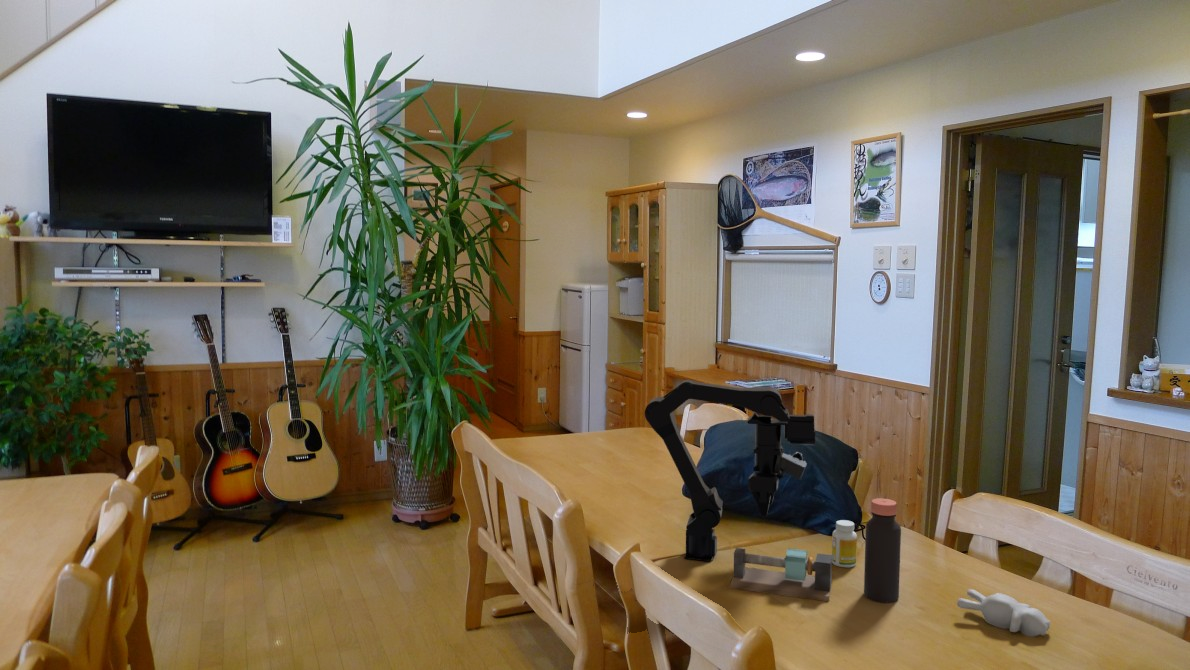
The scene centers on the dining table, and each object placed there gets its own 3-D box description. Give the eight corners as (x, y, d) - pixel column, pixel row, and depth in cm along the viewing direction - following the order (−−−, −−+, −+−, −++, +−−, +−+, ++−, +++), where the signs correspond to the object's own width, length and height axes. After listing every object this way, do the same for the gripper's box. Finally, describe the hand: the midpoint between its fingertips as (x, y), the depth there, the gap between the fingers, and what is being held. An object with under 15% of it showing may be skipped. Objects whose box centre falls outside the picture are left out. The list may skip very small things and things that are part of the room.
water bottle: (899, 592, 166) (903, 499, 164) (897, 605, 160) (900, 508, 158) (865, 587, 169) (868, 495, 167) (861, 599, 163) (864, 504, 161)
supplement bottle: (826, 563, 182) (827, 522, 182) (840, 557, 186) (841, 517, 185) (847, 570, 178) (848, 528, 177) (860, 564, 182) (862, 523, 181)
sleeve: (785, 578, 167) (785, 556, 167) (787, 569, 172) (788, 548, 171) (804, 580, 166) (805, 558, 166) (806, 572, 170) (807, 550, 170)
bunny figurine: (1042, 625, 143) (956, 592, 153) (1037, 651, 144) (952, 616, 154) (1056, 608, 150) (972, 577, 160) (1051, 632, 151) (968, 601, 160)
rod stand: (730, 588, 169) (731, 556, 168) (738, 570, 178) (738, 540, 178) (828, 601, 162) (829, 568, 161) (831, 582, 171) (832, 550, 171)
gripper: (800, 455, 170) (799, 526, 171) (808, 436, 187) (806, 501, 189) (748, 451, 174) (747, 521, 175) (760, 433, 191) (759, 497, 193)
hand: (767, 510), depth 183 cm, fingers open, 9 cm apart
